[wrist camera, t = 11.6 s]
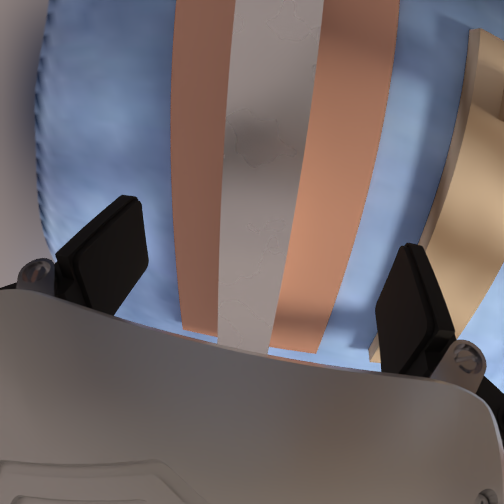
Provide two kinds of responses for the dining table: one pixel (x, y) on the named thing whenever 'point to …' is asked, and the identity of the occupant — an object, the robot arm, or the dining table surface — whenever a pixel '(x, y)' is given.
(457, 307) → the hook stand
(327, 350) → the dining table surface
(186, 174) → the terracotta mat
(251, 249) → the steel bar
